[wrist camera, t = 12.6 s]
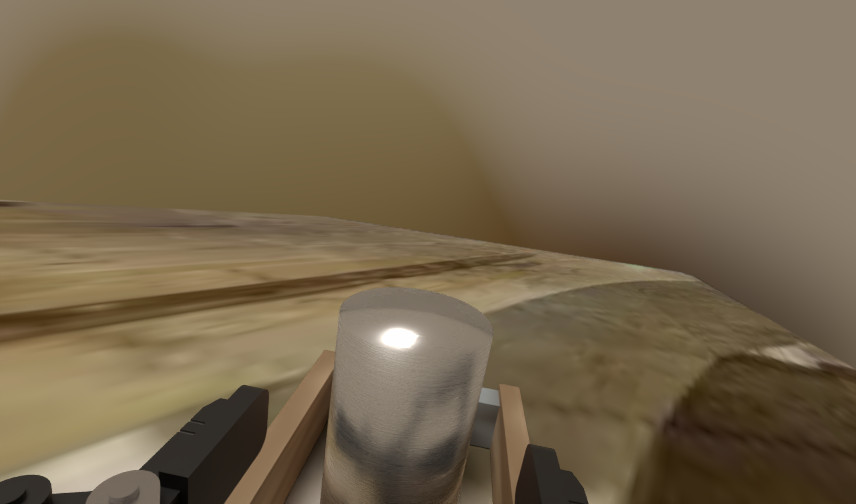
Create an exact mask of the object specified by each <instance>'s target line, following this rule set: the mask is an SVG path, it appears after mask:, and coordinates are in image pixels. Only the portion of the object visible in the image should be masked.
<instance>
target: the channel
mask: <svg viewBox="0 0 856 504" xmlns="http://www.w3.org/2000/svg"><path fill="white" fill-rule="evenodd" d="M334 360H335V352H334V351H328V350H324V351H323V353H322V354H321V356H320V357H319V358H318V360H317V361H316V362H315V364H314V365H313V367H312V368H311V369H310V371H309V372H308V374H307V375H306V376H305V378H304V379H303V381H302V382H301V383H300V385H299V386H298V387H297V389H296V390H295V392H294V393H293V394H292V396H291V397H290V399H289V400H288V401H287V403H286V404H285V406H284V407H283V408H282V410H281V411H280V412H279V414H278V415H277V417H276V418H275V419H274V421H273V422H272V424H271V425H270V426H269V428H268V429H267V433H266V438H265V441H264V444H263V447H262V449H261V451H260V453H259V454H258V456H257V457H256V459H255V460H254V461H253V463H252V464H251V466H250V467H249V469H248V470H247V471H246V473H245V474H244V476H243V477H242V479H241V480H240V482H239V483H238V484H237V486H236V487H235V489H234V490H233V492H232V493H231V494H230V496H229V497H228V499H227V500H226V502H225V503H224V504H284V502H285V500H286V498H287V496H288V494H289V492H290V491H291V489H292V487H293V485H294V483H295V481H296V479H297V477H298V475H299V473H300V472H301V470H302V468H303V466H304V464H305V462H306V460H307V458H308V456H309V454H310V453H311V451H312V449H313V447H314V445H315V443H316V441H317V439H318V437H319V435H320V434H321V432H322V430H323V428H324V426H325V424H326V422H327V420H328V418H329V409H330V399H331V390H332V380H333V370H334ZM528 444H530V443H529V438H528V433H527V427H526V422H525V417H524V412H523V406H522V401H521V396H520V390H519V387H515V386H509V385H504V384H499V389H498V390H493V389H487V388H482V389H481V394H480V398H479V403H478V408H477V412H476V417H475V422H474V427H473V431H472V436H471V441H470V445H475V446H480V447H484V448H489V449H490V460H491V478H492V496H493V504H515V491H516V485H517V481H518V477H519V473H520V470H521V466H522V462H523V458H524V454H525V450H526V447H527V445H528Z"/></svg>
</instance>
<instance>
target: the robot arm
mask: <svg viewBox="0 0 856 504" xmlns="http://www.w3.org/2000/svg"><path fill="white" fill-rule="evenodd" d="M268 403H269V392H268V390H266V389H262V388H257V387H252V386H247V385H242V386H241V387H239V388H238V389H237V391H236V392H235V393H234V394H233V395H232V396H231V397H230V398H229V399H228V400H227V399H222V398H220V399H218V400H216V401H214V402H212V403H211V404H209V405H207V406H205V407H203V408H202V409H201V410H200V411H199V412H198V413H197V414H196V415H195V416H194V417H193V418H192V419H191V421H190V422H188V423H187V424H186V425H185V426H184V427H182V428H181V429H180V432H177V433H176V434H175V435H174V436H173V437H172V438H171V439H170V440H169V441H168V442H167V443H166V444H165V445H164V446H163V447H162V448H161V449H160V450H159V451H158V452H157V453H156V454H155V455H154V456H153V457H152V458H151V459H150V460H148V461H147V462H146V463H145V464H144V465H143V466H142V467H141V468H140V469H139V470H133V471H127V472H124V473H120V474H118V475H115V476H113V477H111V478H109V479H107V480H106V481H104V482H102V483H101V484H100V485H98V486H97V487H96V488H95V489H94V490H93V491H88V492H74V493H59V494H52V488H51V483H50V481H49V480H48V479H47V478H45V477H43V476H40V475H24V476H18V477H14V478H10V479H7V480H4V481H2V482H0V504H224V503H225V502H226V500H227V499H228V497H229V496H230V494H231V493H232V492H233V490H234V489H235V487H236V486H237V484H238V483H239V482H240V480H241V479H242V477H243V476H244V474H245V473H246V471H247V470H248V469H249V467H250V466H251V464H252V463H253V461H254V460H255V459H256V457H257V456H258V454H259V453H260V451H261V449H262V447H263V444H264V441H265V438H266V433H267V420H268ZM515 504H588V501H587V497H586V494H585V491H584V488H583V487H582V485H581V484H580V482H579V481H578V480H577V478H576V477H575V476H574V474H573V473H572V472H570V471H566V470H561V469H560V467H559V463H558V459H557V455H556V452H555V450H554V449H552V448H547V447H542V446H537V445H532V444H528V445H527V447H526V450H525V454H524V458H523V462H522V466H521V470H520V473H519V477H518V481H517V485H516V491H515Z"/></svg>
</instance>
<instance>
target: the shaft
mask: <svg viewBox="0 0 856 504" xmlns="http://www.w3.org/2000/svg"><path fill="white" fill-rule="evenodd" d="M492 338H493V327H492V325H491V323H490V321H489V320H488V319H487V317H486V316H485V315H483V314H482V313H481V312H480V311H478V310H477V309H476V308H474V307H472V306H471V305H469V304H467V303H465V302H463V301H460V300H458V299H456V298H453V297H450V296H447V295H444V294H440V293H436V292H432V291H427V290H421V289H413V288H401V287H390V288H377V289H371V290H366V291H362V292H360V293H357V294H355V295H352V296H351V297H349V298H348V299H346V300H345V301H344V302H343V304H342V305H341V307H340V311H339V321H338V331H337V340H336V350H335V360H334V370H333V380H332V390H331V399H330V409H329V419H328V429H327V439H326V449H325V458H324V468H323V478H322V488H321V498H320V504H457V502H458V497H459V492H460V487H461V483H462V478H463V473H464V469H465V464H466V459H467V455H468V450H469V445H470V441H471V436H472V431H473V427H474V422H475V417H476V412H477V408H478V403H479V398H480V394H481V389H482V384H483V380H484V375H485V370H486V366H487V361H488V356H489V352H490V347H491V342H492Z"/></svg>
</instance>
